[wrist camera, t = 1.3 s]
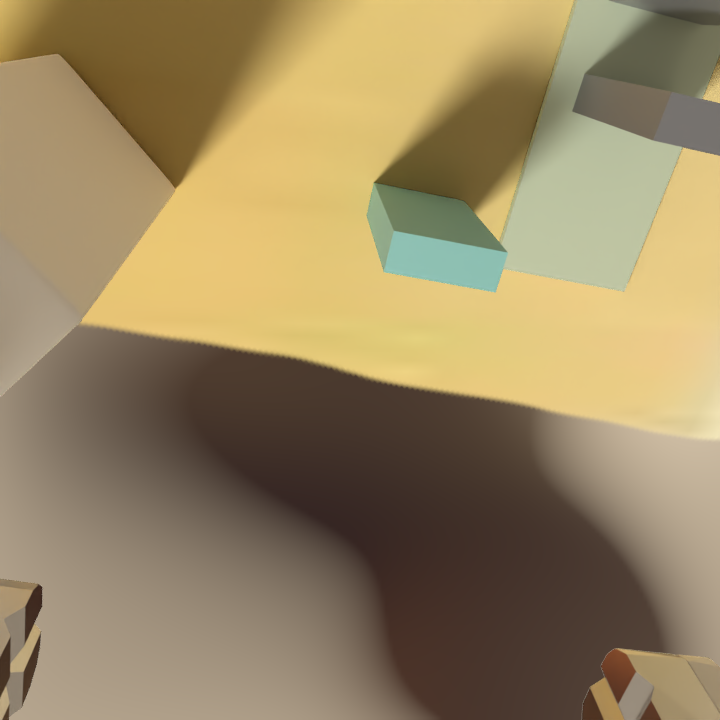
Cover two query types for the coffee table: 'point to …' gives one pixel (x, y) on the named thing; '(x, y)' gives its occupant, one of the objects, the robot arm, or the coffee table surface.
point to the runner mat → (601, 147)
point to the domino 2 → (681, 9)
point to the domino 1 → (433, 239)
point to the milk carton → (62, 205)
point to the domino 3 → (651, 113)
